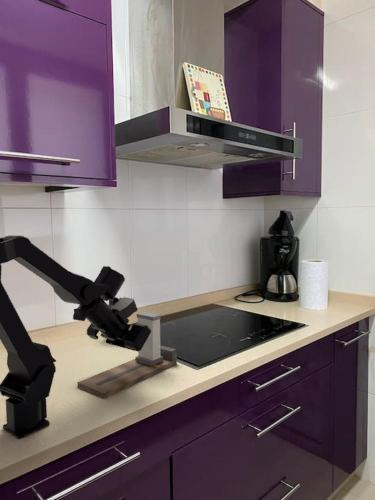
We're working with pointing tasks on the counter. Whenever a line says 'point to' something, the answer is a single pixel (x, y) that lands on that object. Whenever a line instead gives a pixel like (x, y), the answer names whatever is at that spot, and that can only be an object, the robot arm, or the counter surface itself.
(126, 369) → the slider base
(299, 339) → the counter surface
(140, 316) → the fader tab
